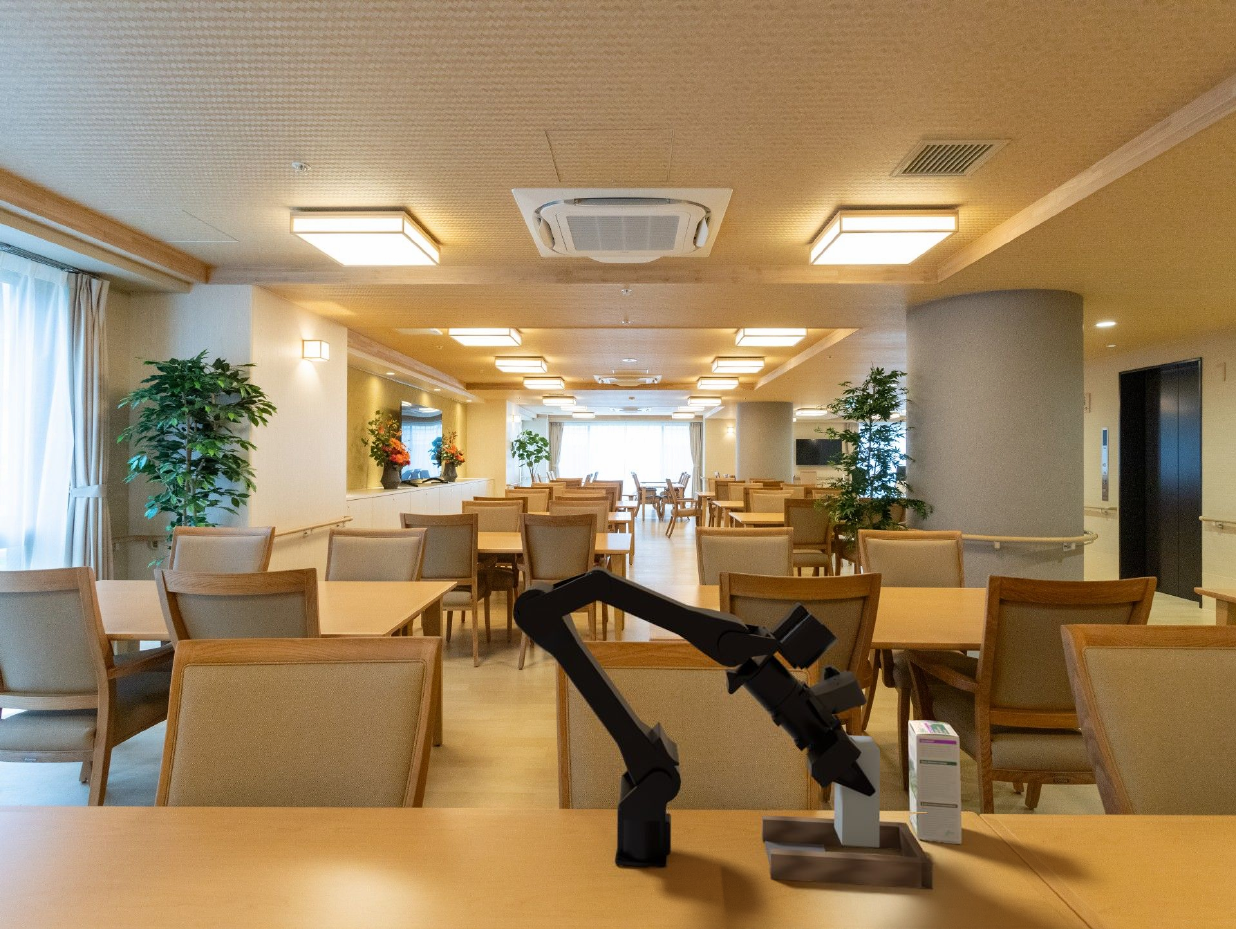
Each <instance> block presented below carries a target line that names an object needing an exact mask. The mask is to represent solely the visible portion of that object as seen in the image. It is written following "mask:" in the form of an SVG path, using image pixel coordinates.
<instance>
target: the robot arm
mask: <svg viewBox="0 0 1236 929" xmlns="http://www.w3.org/2000/svg"><path fill="white" fill-rule="evenodd" d="M595 602H601V603H604V604H606V605H608V606H610V607H612V608H615V609H617V610H620V611H622V612H624V613H627V614H628V615H631V616H633V617H636V618H638V619H640V620H643V621H646V623H650V624H652V625H654V626H656V627H658V628H661V629H663V630H666V631H668V632H670V633H672V634H675V635H677V636H679V637H681V638H682V639H683V640H685V641H687V642H688V643H689V644H690V645H691V646H693V647H694V648H696V649H697V650H698V651H700V652H701V653H703V654H704V655H705V656H707V657H708V658H710V659H711V660H712V661H715V662H716V663H718V664H719V665H721V666H723V667H726V668H725V669H724V672H725V676H726V680H725V687H726V690H727V693H728V694H729V695H734V694H735V693H736V692H737V691H738V690H739V689H740V688H741V687H743V688H744V689H745V690H746V692H748V693H749V694H750V695H751V696H752V697H753V698H754V699H755V701H757V703H759V705H760V706H762V708H763V709H764V710H765V711H766V712H767V713H768V715H770V717H771V721H772V722H773V723H774V724H775V725H776V726H777V728H779V727H781V729H783V730H784V731H785V732H786V733H787V735H789V736H790V737H791V738H792V740H793V742H794V744H795V746H796V748H797V749H799V751H800V752H803V751H804V750H805V749H806V750H807V752H806V755H805V756H806V758H805V760H806V762H805V764H806V768H807V770H808V772H809V774H810V776H811V777H812V779H813V780H814V781H816V783H817V784H818V785H819V786H820V787H821V788H822V789H824V788H828V786H830V784H832V783H834V784H835V783H837V784H840V785H842V786H845V787H847V788H850V789H852V790H855V791H857V792H859V793H862V794H864V795H866V796H869V797H870V796H872V795H873V794H874V793H875V792H876V790H875V789H874V787H873V786H872V784H871V783H870V781H869V780H868V778H867V777H866V775H865V774H864V772H863V771H862V769H861V768H860V766H859V765H858V763H857V762H856V760H857V759H858V758H859V757H860V754H861V751H860V749H859V748H858V746H857V745H856V743H855V742H854V740H853V739H852V737H851V738H850V736H849V734H848V733H847V732H846V731H845V730H843V729H842V720H841V719H840V717H839V716H838V715H839V714H840V713H843V712H846V711H849V710H851V709H853V708H855V707H857V708H860V707H862V706H864V705H866V704H867V703H868V700H867V697H866V695H865V693H864V691H863V688H862V687H861V685H860V682H859V680H858V678H857V676H855V675H854V673H853V672H852V671H850V670H846V669H843V670H842V671H840V670H839V669H838V668H836V667H835V666H834V665H832V664H828V665H826V666H824V667H822V668H821V673H820V674H821V675H820V677H821V678H820V679H819V680H818V681H817V683H815V684H814V685H812V686H809V684H807V683H806V682H805V680H802V681H801V680H800V679H797V677H796V676H795V675H794V674H793V673H792V672H791V671H790V670H789V669H788V668H787V667H786V666H785V665H784V664H783V663H782V662H781V661H780V660H779V658H777V657H776V656H775V654H776V653H777V652H778V654H779V655H780V656H781V657H782V658H783V659H784V660H785V661H786V662H787V663H788V664H789V665H790V666H791V667H792V668H793V669H794V670H797V669H798V668H799V669H800V670H801V671H803V670H804V669H806V670H809V669H810V668H811V667H812V666H813V665H814V664H815V663H816V662H817V661H819V659H820V658H822V656H824V654H826V652H827V651H829V650H830V649H831V648H832V647H833V646H834V645H835V644H836V643H837V642H838V641H839V639H838V638H837V637H836V636H835V634H834V633H833V632H832V631H831V630H830V629H829V628H828V627H827V625H825V624H824V623H823V622H821V621H820V620H819V619H818V618H816V617H815V615H813V614H812V613H811V612H810V611H809V610H807V609H806V607H804V605H802V604H801V603H800V602H795V604H794V605H793V606H792V607H790V609H789V610H788V612H787V613H786V614H785V615H784V616H783V617H782V618H781V619H780V620H779V621H778V622H777V623H775V625H774V626H773V627H772V628H771V629H769V628H768V627H767V626H762V625H759V624H758V625H756V624H752V623H746V622H743V620H742V619H741V618H740V617H739V616H737V615H735V614H732V613H729V612H724V611H720V610H716V609H710V608H706V607H699V606H694V605H689V604H686V603H684V602H681V601H679V600H678V599H677V600H676V599H674V598H671V597H670V596H667V595H665V594H663V593H661V592H658V591H655V590H653V589H651V588H649V587H646V586H644V585H642V584H639V583H637V582H635V581H632V580H630V579H628V578H625V577H623V576H621V575H618V574H616V573H614V572H612V571H610V570H609V569H608V568H606V567H604V566H600V565H599V566H594V567H592V568H590V569H589V570H587V571H585V572H582V573H580V574H576V575H574V576H570V577H567V578H565V579H562V580H559V581H557V582H554V583H547V582H535V583H533V584H532V585H530V586H528V587H527V588H526V589H525V590H524V591H522V593H520V595H519V596H517V598H516V600H515V602H514V604H513V607H512V608H513V609H512V619H513V621H514V623H515V624H516V626H517V627H518V628H519V629H520V630H521V631H522V632H523V633H524V635H526V636H527V637H528V638H529V639H530V640H531V641H532V642H533V643H534V644H535V645H536V646H538V647H540V648H541V649H542V650H544V651H545V652H547V653H548V654H549V655H551V656H552V657H553V658H554V659H555V661H556V662H557V663H558V664H559V666H560V667H561V668H562V670H563V671H564V673H565V674H566V675H567V677H568V679H569V680H570V681H571V682H572V684H573V685H574V687H575V688H576V689H577V691H578V692H579V693H580V696H582V698H583V699H584V700H585V702H586V703H587V705H588V706H589V707H590V709H591V710H592V711H593V713H594V715H595V716H596V717H597V718H598V720H599V721H600V723H601V724H602V725H603V727H604V728H605V729H606V731H607V732H608V734H609V735H610V736H611V738H612V739H613V741H614V742H615V743H616V745H617V747H618V749H619V751H620V754H621V757H622V759H623V762H624V765H625V767H626V770H625V771H624V772H623V774H621V776H620V786H619V800H618V804H617V809H616V810H617V812H616V814H617V815H616V816H617V817H616V819H617V820H616V822H617V823H616V852H615V857H614V863H615V865H619V866H621V865H622V866H635V867H648V868H649V867H650V868H651V867H652V868H666V867H667V861H668V860H667V859H668V856H670V855H671V853H672V852H671V848H672V815H671V813H667V811H668V810H667V805H668V803H669V802H672V801H674V799H675V797H677V796H678V794H679V792H680V790H681V785H682V778H681V770H680V769H681V768H680V759H679V751H678V750H679V749H678V744H677V743H676V742H674V741H673V740H671V738H670V737H668V734H667V733H666V732H665V729H664V727H663V725H662V723H661V722H657V723H656V724H655V725H654V726H653V727H650V726H649V725H647V724H646V723H645V722H643V721H642V720H641V719H640V718H639V716H638V715H637V714H636V712H635V711H634V710H633V708H632V707H631V706H630V704H629V703H628V701H627V700H626V698H625V697H624V696H623V695H622V693H621V692H620V690H619V689H618V688H617V686H616V685H615V684H614V682H613V680H612V679H611V678H610V676H609V675H608V674H607V672H606V671H605V669H604V667H602V666H601V664H600V663H599V662H598V660H597V659H596V656H594V654H593V653H592V652H591V651H590V649H589V648H588V646H587V645H586V644H585V642H584V641H583V639H582V638H581V636H580V634H579V633H578V630H577V628H576V625H575V622H574V620H573V617H572V613H573V612H576V611H578V610H581V609H582V608H584V607H586V606H588V605H590V604H593V603H595Z"/></svg>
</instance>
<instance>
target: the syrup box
mask: <svg viewBox="0 0 1236 929" xmlns="http://www.w3.org/2000/svg"><path fill="white" fill-rule="evenodd" d="M907 728H908V779H909V780H908V786H909V790H908V792H909V794H908V795H909V798H908V799H909V800H908V801H909V821H910V824H911V826H912V828H913V830H914V833H915V835H916V838H917V839H918V840H920V839H922V841H926V840H929V841H928V842H932V841H938V842H937V843H942V842H943V843H944V844H956V845H961V844H962V841H963V840H962V796H961V795H962V792H961V791H962V789H961V758H960V757H961V753H960V751H961V750H960V748H961V747H960V746H961V745H960V735H958V733H957V732H956V731H955V730H954V729H953V727H952V726H951V725H950V723H948V722H944V721H937V720H926V719H924V720H919V719H918V720H910V719H909V720H908V727H907ZM910 812H927V813H917V814H910Z"/></svg>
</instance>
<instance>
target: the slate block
mask: <svg viewBox="0 0 1236 929" xmlns="http://www.w3.org/2000/svg"><path fill="white" fill-rule="evenodd" d="M848 735H849V734H848ZM849 736H850V738H851V737H852V739H853V740H854V742H855V743H856V745H857V746H858V748H859V749H860V751H861V754H860V757H859V758H858V759H857V760H856V762H857V763H858V765H859V766H860V768H861V769H862V771H863V772H864V774H865V775H866V777H867V778H868V780H869V781H870V783H871V784H872V786H873V787H874V789H875V790H876V792H875V793H874V794H873V795H872V796H870V797H869V796H866V795H864V794H862V793H859V792H857V791H855V790H852V789H850V788H847V787H845V786H842V785H840V784H837V783H834V801H833V802H834V808H833V811H834V815H833V816H834V818H833V819H834V828H835V830H836V832H837V834H838V837H839V839H840V841H841V844H842V845H852V846H868V847H879V821H881V820H880V809H881V808H880V805H881V804H880V802H881V801H880V799H881V798H880V797H881V796H880V795H881V794H880V793H881V792H880V791H881V790H880V789H881V785H880V784H881V749H880V748H879V746H878V744H877V743H876V742H875V741H874V739H873V738H872V737H871V736H870V735H869V736H868V735H853V734H852V735H849Z"/></svg>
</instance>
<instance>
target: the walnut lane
mask: <svg viewBox="0 0 1236 929" xmlns="http://www.w3.org/2000/svg"><path fill="white" fill-rule="evenodd" d="M761 840H762V843H764V846H766V847H765V850H766V855H767V859H768V864H769V865H768V866H769V876H770V879H771V880H784V881H798V882H799V881H802V882H817V883H834V884H836V883H837V884H848V885H849V884H851V885H865V886H867V885H868V886H881V887H883V886H884V887H885V886H886V887H897V888H899V887H902V888H911V889H912V888H915V889H916V888H917V889H929V890H933V889H934V888H933V887H934V886H933V885H934V882H933V879H934V876H933V875H934V874H933V870H934V869H933V867H934V866H933V861H932V860H931V858H930V857H928V855H927V853H926V852H925V850H924V849H923V848H922V846H921V844H920V843H919V841H918V840H917V837H915V835H914V833H913V832H912V831H911V829H910V826H909V824H907V822H902V821H901V822H900V821H881V820H879V847H868V846H852V845H842V844H841V841H840V839H839V837H838V834H837V832H836V830H835V828H834V818H827V817H805V816H790V815H789V816H788V815H786V816H785V815H766V814H762V815H761ZM824 846H828V847H844V846H850V847H849V848H865V849H878V850H879V849H882V850H883V849H884V850H896V851H897V850H898V849H899V850H898V851H899V852H900V854H901V855H886V854H885V855H883V854H870V853H868V854H866V853H851V852H834V851H826V849H825V847H824ZM851 846H852V847H851Z"/></svg>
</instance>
